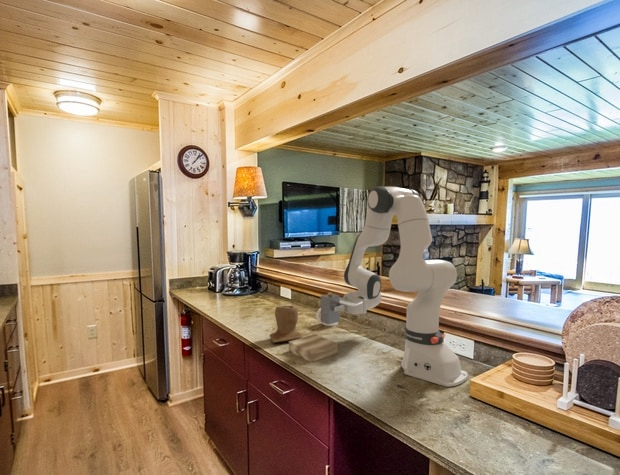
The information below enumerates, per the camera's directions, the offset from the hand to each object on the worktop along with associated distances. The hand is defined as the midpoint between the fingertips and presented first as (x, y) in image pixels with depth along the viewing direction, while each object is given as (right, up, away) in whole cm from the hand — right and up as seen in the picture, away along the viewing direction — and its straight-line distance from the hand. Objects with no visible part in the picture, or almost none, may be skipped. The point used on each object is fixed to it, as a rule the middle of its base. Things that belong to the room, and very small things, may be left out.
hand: (328, 307), depth 145 cm
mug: (+1, -15, +32) cm, 36 cm away
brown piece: (-19, -16, +11) cm, 27 cm away
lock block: (+1, -6, +1) cm, 6 cm away
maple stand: (-6, -17, -4) cm, 19 cm away
